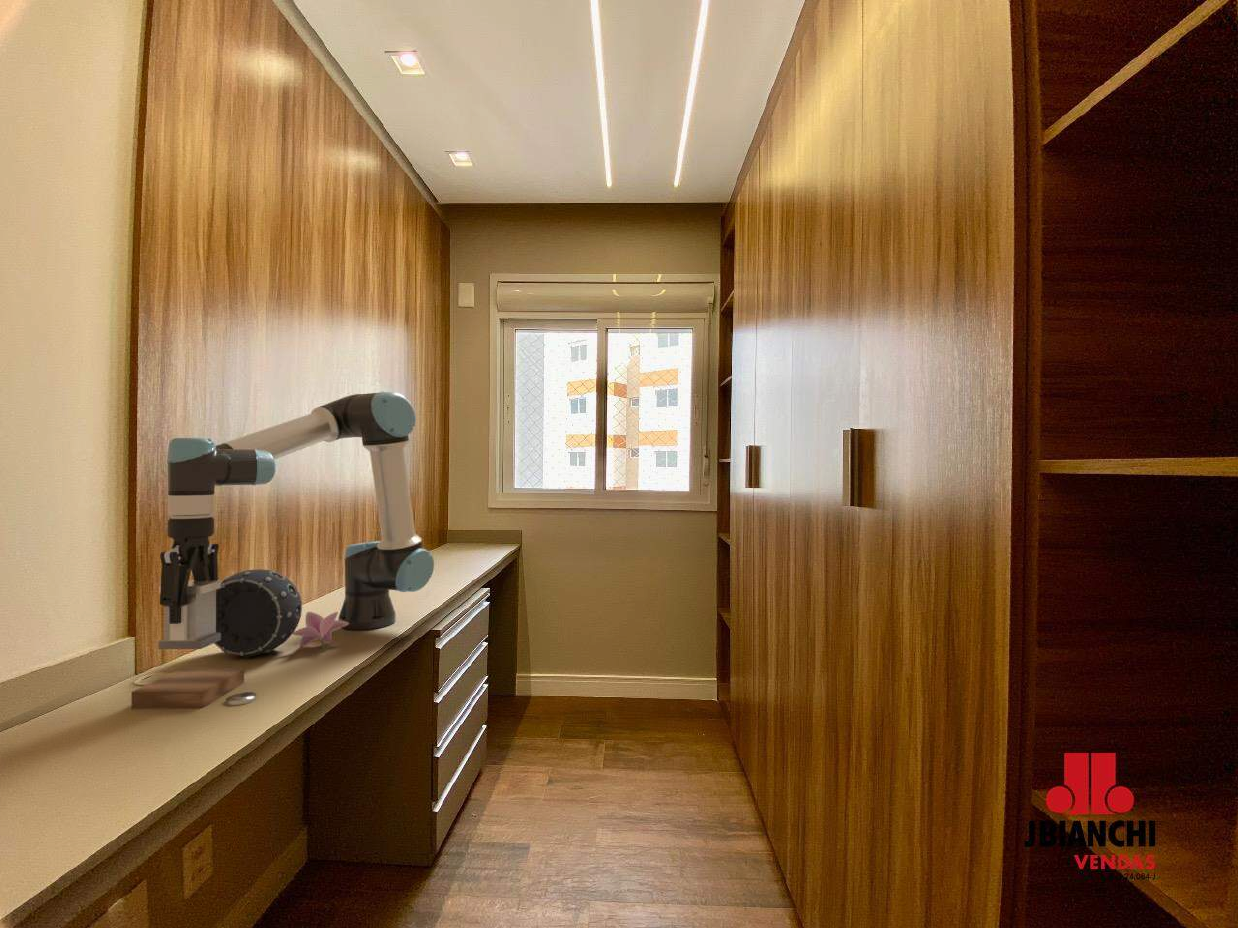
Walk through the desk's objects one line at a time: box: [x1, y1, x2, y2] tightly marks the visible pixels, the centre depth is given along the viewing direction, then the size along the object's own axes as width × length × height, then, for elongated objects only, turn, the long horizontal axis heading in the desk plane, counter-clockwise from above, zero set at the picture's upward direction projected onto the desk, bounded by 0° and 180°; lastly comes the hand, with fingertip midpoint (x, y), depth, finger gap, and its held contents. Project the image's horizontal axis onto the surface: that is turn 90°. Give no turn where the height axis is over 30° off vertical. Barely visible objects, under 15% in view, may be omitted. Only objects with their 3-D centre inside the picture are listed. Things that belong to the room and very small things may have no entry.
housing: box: [157, 579, 222, 650], centre depth 120 cm, size 6×8×12 cm
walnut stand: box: [130, 667, 245, 709], centre depth 120 cm, size 13×13×3 cm
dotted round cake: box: [213, 568, 303, 659], centre depth 146 cm, size 11×20×20 cm, turn 92°
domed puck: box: [225, 691, 258, 707], centre depth 117 cm, size 5×5×1 cm
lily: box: [291, 611, 349, 653], centre depth 150 cm, size 12×12×10 cm
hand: (190, 634), depth 120 cm, fingers closed on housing, 6 cm apart
